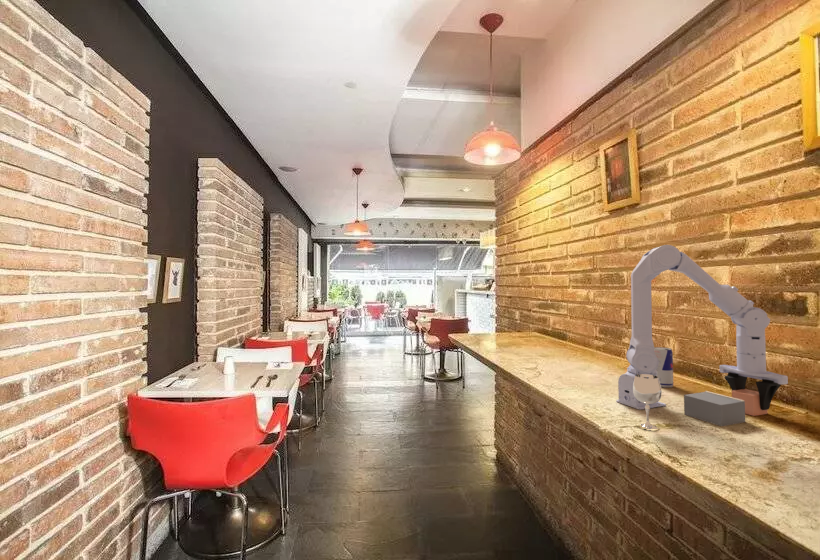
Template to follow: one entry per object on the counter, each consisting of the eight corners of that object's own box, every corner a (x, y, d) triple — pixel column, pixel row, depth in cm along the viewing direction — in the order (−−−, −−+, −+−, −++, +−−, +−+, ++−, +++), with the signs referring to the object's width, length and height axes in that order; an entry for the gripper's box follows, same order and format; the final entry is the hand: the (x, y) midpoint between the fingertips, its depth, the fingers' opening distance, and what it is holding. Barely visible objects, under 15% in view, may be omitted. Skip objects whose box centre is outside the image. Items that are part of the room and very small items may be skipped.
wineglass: (652, 434, 89) (651, 380, 90) (628, 426, 95) (627, 375, 95) (667, 429, 92) (666, 377, 92) (643, 421, 97) (642, 372, 97)
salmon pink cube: (753, 415, 99) (753, 395, 99) (732, 409, 104) (731, 390, 104) (767, 413, 101) (766, 393, 101) (745, 407, 106) (745, 388, 106)
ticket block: (721, 426, 93) (720, 404, 93) (684, 414, 102) (683, 394, 102) (745, 422, 95) (744, 400, 95) (707, 410, 104) (706, 390, 104)
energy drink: (677, 387, 126) (676, 349, 126) (660, 387, 126) (659, 350, 127) (666, 383, 132) (665, 347, 132) (650, 383, 132) (649, 347, 132)
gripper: (795, 356, 97) (797, 412, 97) (731, 347, 111) (733, 396, 111) (776, 359, 95) (777, 416, 95) (713, 349, 109) (714, 399, 109)
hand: (752, 406), depth 103 cm, fingers closed on salmon pink cube, 5 cm apart
